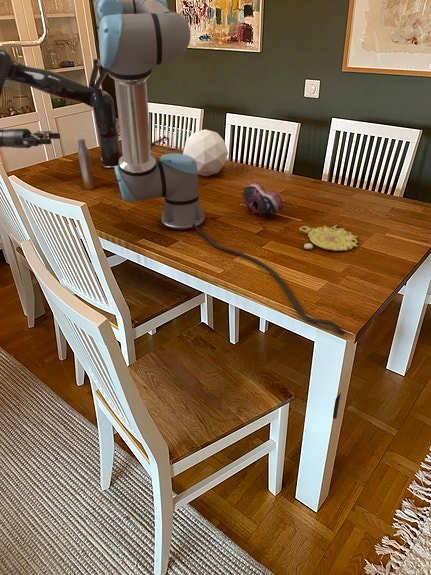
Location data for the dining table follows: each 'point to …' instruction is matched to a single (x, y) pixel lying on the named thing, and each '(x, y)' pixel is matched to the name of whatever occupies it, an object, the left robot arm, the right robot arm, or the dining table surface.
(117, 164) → the left robot arm
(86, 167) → the bottle
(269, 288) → the dining table surface
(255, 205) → the athletic shoe
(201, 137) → the sphere
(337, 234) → the decorative object
